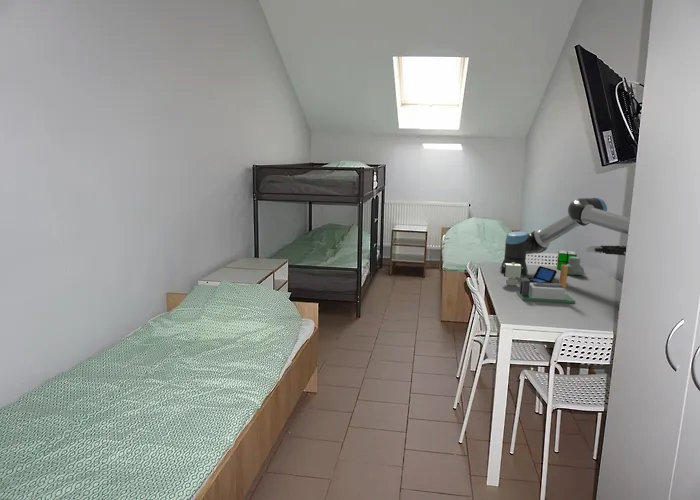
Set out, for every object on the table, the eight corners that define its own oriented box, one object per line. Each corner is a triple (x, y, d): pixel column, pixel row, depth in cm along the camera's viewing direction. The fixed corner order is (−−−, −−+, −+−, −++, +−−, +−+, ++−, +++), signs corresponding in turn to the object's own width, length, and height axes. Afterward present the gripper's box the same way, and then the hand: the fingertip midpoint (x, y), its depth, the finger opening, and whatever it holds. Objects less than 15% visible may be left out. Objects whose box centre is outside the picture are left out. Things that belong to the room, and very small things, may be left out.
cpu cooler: (567, 296, 265) (569, 278, 263) (575, 303, 253) (577, 284, 251) (516, 293, 266) (518, 276, 265) (522, 300, 255) (524, 282, 253)
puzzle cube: (574, 267, 333) (575, 251, 331) (574, 271, 323) (576, 254, 321) (556, 266, 336) (558, 250, 334) (557, 269, 327) (558, 252, 325)
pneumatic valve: (523, 286, 281) (525, 264, 278) (500, 285, 282) (502, 262, 280) (521, 284, 286) (524, 261, 284) (499, 282, 288) (501, 260, 286)
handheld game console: (523, 280, 296) (525, 267, 294) (538, 278, 301) (539, 265, 299) (541, 286, 285) (543, 272, 284) (556, 284, 290) (557, 270, 289)
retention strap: (562, 285, 260) (564, 264, 258) (565, 287, 255) (568, 266, 253) (532, 283, 261) (534, 263, 259) (534, 285, 256) (537, 265, 254)
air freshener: (585, 275, 312) (587, 258, 310) (577, 277, 307) (579, 260, 305) (568, 271, 320) (570, 255, 319) (560, 273, 316) (562, 256, 314)
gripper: (644, 262, 246) (590, 259, 248) (631, 256, 259) (580, 253, 261) (646, 246, 244) (592, 243, 246) (633, 240, 258) (582, 238, 260)
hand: (586, 248), depth 254 cm, fingers closed
